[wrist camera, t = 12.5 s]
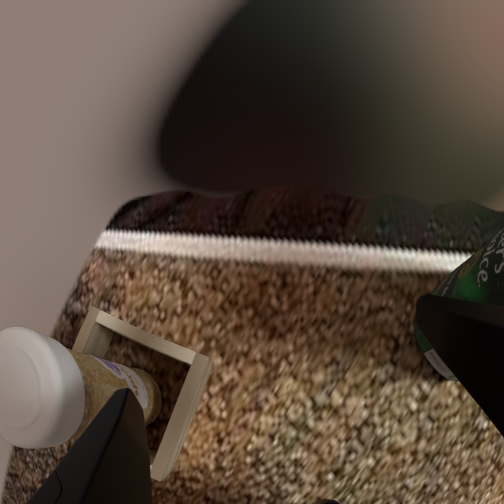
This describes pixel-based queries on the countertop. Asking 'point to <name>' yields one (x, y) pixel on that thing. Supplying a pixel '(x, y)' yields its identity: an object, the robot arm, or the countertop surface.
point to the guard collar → (104, 326)
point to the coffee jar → (470, 290)
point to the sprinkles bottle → (59, 389)
